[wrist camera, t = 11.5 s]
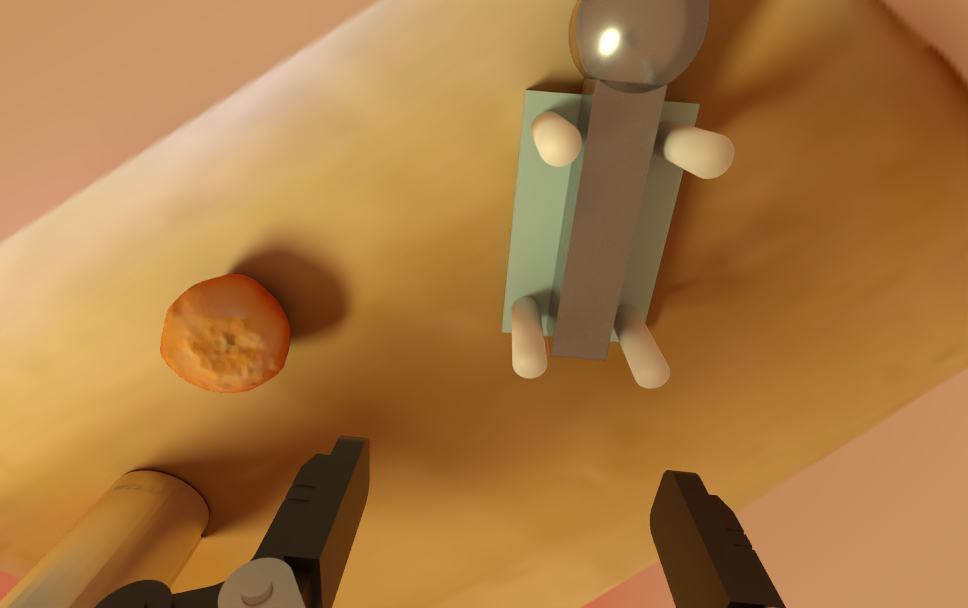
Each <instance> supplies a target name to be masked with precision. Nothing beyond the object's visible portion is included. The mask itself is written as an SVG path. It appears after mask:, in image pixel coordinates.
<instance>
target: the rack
mask: <svg viewBox="0 0 968 608" xmlns="http://www.w3.org/2000/svg"><path fill="white" fill-rule="evenodd" d="M581 97H582V94H573V93H561V92H548V91H536V90H525V100H524V110H523V120H522V130H521V140H520V150H519V159H518V169H517V179H516V189H515V199H514V209H513V219H512V229H511V239H510V249H509V259H508V269H507V279H506V289H505V299H504V309H503V319H502V332H504V333H512V364H513V369H514V371H515V372H516V373H517V374H518V375H519V376H521V377H524V378H536V377H539V376H540V375H542V374H543V373H544V372H545V371H546V369H547V365H548V362H547V355H546V348H545V341H544V336H548V334H547V328H546V324H547V318H548V311H549V305H550V298H551V292H552V285H553V279H554V272H555V266H556V259H557V253H558V246H559V240H560V233H561V227H562V220H563V214H564V207H565V201H566V194H567V188H568V181H569V175H570V168H571V163H572V162H573V161H574V160H575V159H576V158H577V156H578V155H579V153H580V150H581V146H582V139H581V135H580V133H579V131H578V129H577V123H578V116H579V110H580V104H581ZM699 107H700V104H695V103H686V102H673V101H664V103H663V108H662V112H661V116H660V121H659V125H658V130H657V134H656V139H655V143H654V148H653V152H652V156H651V161H650V165H649V170H648V174H647V179H646V183H645V187H644V192H643V196H642V201H641V205H640V210H639V214H638V219H637V223H636V227H635V232H634V236H633V241H632V245H631V250H630V254H629V259H628V263H627V267H626V272H625V276H624V281H623V285H622V290H621V294H620V299H619V303H618V307H617V312H616V316H615V321H614V325H613V330H612V334H611V339H610V341H611V342H619V343H620V345H621V347H622V350H623V352H624V354H625V357H626V359H627V362H628V364H629V366H630V369H631V371H632V373H633V376H634V378H635V380H636V382H637V384H638V385H640V386H641V387H643V388H647V389H653V388H658V387H660V386H662V385H663V384H665V383H666V382H667V381H668V379H669V377H670V368H669V366H668V364H667V362H666V360H665V359H664V357H663V355H662V353H661V351H660V350H659V348H658V346H657V344H656V342H655V341H654V339H653V337H652V335H651V333H650V332H649V330H648V328H647V326H646V325H645V322H646V318H647V314H648V310H649V306H650V302H651V298H652V294H653V290H654V286H655V282H656V278H657V274H658V270H659V266H660V262H661V258H662V254H663V250H664V246H665V242H666V238H667V234H668V230H669V226H670V222H671V218H672V214H673V211H674V207H675V203H676V199H677V195H678V191H679V187H680V183H681V179H682V175H683V171H684V169H685V170H687V171H688V172H690V173H692V174H694V175H696V176H698V177H700V178H703V179H712V178H716V177H718V176H720V175H722V174H723V173H724V172H726V171H727V170H728V168H729V167H730V166H731V164H732V162H733V159H734V155H735V149H734V145H733V143H732V141H731V140H730V139H729V138H728V137H726V136H724V135H722V134H718V133H714V132H711V131H707V130H703V129H699V128H696V127H695V123H696V119H697V115H698V111H699Z"/></svg>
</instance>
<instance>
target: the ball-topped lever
mask: <svg viewBox="0 0 968 608" xmlns="http://www.w3.org/2000/svg"><path fill="white" fill-rule="evenodd" d="M709 16H710V0H578V1H577V3H576V5H575V7H574V9H573V12H572V16H571V20H570V25H569V47H570V52H571V55H572V58H573V61H574V63H575V65H576V67H577V69H578V70H579V72H580V73H581V74H582V75H583V77H584V78H586V79H584V84H583V91H582V97H581V104H580V110H579V116H578V123H577V129H578V131H579V133H580V135H581V139H582V146H581V150H580V153H579V155H578V156H577V158H576V159H575V160H574V161H573V162H572V163H571V168H570V175H569V181H568V188H567V194H566V201H565V207H564V214H563V220H562V227H561V233H560V240H559V246H558V253H557V259H556V266H555V272H554V279H553V285H552V292H551V298H550V305H549V311H548V318H547V324H546V328H547V334H548V340H549V347H550V353H551V356H560V357H571V358H582V359H593V360H604V361H606V356H607V352H608V347H609V343H610V339H611V334H612V330H613V325H614V321H615V316H616V312H617V307H618V303H619V299H620V294H621V290H622V285H623V281H624V276H625V272H626V267H627V263H628V259H629V254H630V250H631V245H632V241H633V236H634V232H635V227H636V223H637V219H638V214H639V210H640V205H641V201H642V196H643V192H644V187H645V183H646V179H647V174H648V170H649V165H650V161H651V156H652V152H653V148H654V143H655V139H656V134H657V130H658V125H659V121H660V116H661V112H662V108H663V103H664V99H665V94H666V90H667V84H668V83H670V82H672V81H673V80H674V79H676V78H677V77H678V76H679V75H680V74H681V73H683V72H684V71H685V69H686V68H687V67H688V66H689V65H690V64H691V62H692V61H693V59H694V58H695V57H696V55H697V53H698V51H699V50H700V48H701V45H702V43H703V41H704V38H705V35H706V32H707V28H708V23H709Z"/></svg>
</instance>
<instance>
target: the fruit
mask: <svg viewBox="0 0 968 608" xmlns="http://www.w3.org/2000/svg"><path fill="white" fill-rule="evenodd" d="M290 337H291V330H290V325H289V322H288V318H287V316H286V314H285V312H284V310H283V308H282V307H281V305H280V304H279V303H278V301H277V300H276V299H275V297H274V296H272V295H271V294H270V293H269V292H268V291H267V290H266V289H265V288H264V287H263V286H262V285H261V284H260V283H259V282H257V281H256V280H255V279H252V278H250V277H248V276H246V275H241V274H229V275H225V276H221V277H217V278H213V279H209V280H206V281H202V282H200V283H198V284H196V285H194V286H192V287H191V288H189V289H188V290H187V291H186V292H184V293H183V294H182V295H181V296H180V297H179V298H178V299H177V300H176V301H175V302H174V303H173V304H172V305H171V306H170V308H169V309H168V312H167V314H166V318H165V321H164V328H163V332H162V338H161V347H160V351H161V355H162V357H163V358H164V360H165V361H166V363H167V364H168V366H169V367H170V368H172V369H173V370H174V371H175V372H176V373H177V374H178V375H179V376H180V377H182V378H184V379H185V380H186V381H187V382H189V383H191V384H193V385H195V386H198V387H200V388H203V389H204V390H209V391H213V392H219V393H237V392H244V391H248V390H251V389H253V388H255V387H256V386H259V385H261V384H263V383H264V382H266V381H268V380H269V379H271V378H273V377H274V376H275V375H277V374H278V372H279V371H280V370H282V368H283V367H284V364H285V360H286V357H287V355H288V351H289V346H290Z"/></svg>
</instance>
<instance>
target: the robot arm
mask: <svg viewBox="0 0 968 608" xmlns="http://www.w3.org/2000/svg"><path fill="white" fill-rule="evenodd" d="M368 490H369V439H367V438H357V437H347V436H340V437H339V438H338V440H337V442H336V444H335V447H334V449H333V451H332V453H331V455H323V454H316V455H315V456H314V457H313V458H311V459H310V460H309V461H308V462H307V463H306V464H305V465H303V466H302V467H301V469H300V471H299V472H298V474H297V476H296V478H295V480H294V482H293V484H292V488H290V489H289V491H288V493H287V495H286V497H285V501H284V502H283V503H282V505H281V506H280V508H279V510H278V512H277V514H276V516H275V518H274V520H273V522H272V524H271V525H270V527H269V529H268V531H267V533H266V535H265V537H264V539H263V541H262V542H261V544H260V546H259V548H258V550H257V552H256V554H255V555H254V557H253V559H252V560H251V561H250V562H248V563H246V564H244V565H243V566H241V567H240V568H238V569H237V570H236V571H234V572H233V573H232V574H231V575H230V576H229V577H228V578H227V580H226V581H224V582H222V583H219V584H217V585H213V586H210V587H206V588H201V589H196V590H191V591H186V592H182V593H177V594H172V593H171V591H170V587H171V586H172V584H173V583H174V581H175V580H176V578H177V577H178V575H179V573H180V572H181V570H182V569H183V567H184V566H185V564H186V563H187V561H188V560H189V558H190V557H191V555H192V554H193V552H194V551H195V549H196V548H197V546H198V545H199V543H200V542H201V540H202V539H201V534H202V532H203V531H204V529H205V528H206V526H207V524H208V522H209V511H208V507H207V505H206V503H205V501H204V499H203V498H202V497H201V496H200V495H199V493H198V492H197V491H195V490H194V489H193V488H192V487H191V486H189V485H188V484H186V483H185V482H183V481H182V480H180V479H177V478H175V477H173V476H171V475H167V474H164V473H161V472H155V471H135V472H130V473H128V474H125V475H123V476H122V477H121V478H119V479H118V480H117V481H116V482H115V483H114V484H113V485H112V486H111V487H110V488H109V489H108V490H107V491H106V492H105V493H104V494H103V496H102V497H101V498H100V499H99V500H98V501H97V502H96V503H95V504H94V505H93V506H92V507H91V508H90V509H89V510H88V511H87V512H86V513H85V514H84V515H83V516H82V517H81V518H80V519H79V520H78V521H77V522H76V523H75V524H74V525H73V526H72V527H71V528H70V529H69V531H68V532H67V533H66V534H65V535H64V536H63V537H62V538H61V539H60V540H59V541H58V542H57V543H56V544H55V545H54V546H53V547H52V548H51V549H50V550H49V551H48V552H47V553H46V554H45V555H44V557H43V558H42V559H41V560H40V561H39V562H38V563H37V564H36V565H35V566H34V567H33V568H32V569H31V570H30V571H29V572H28V573H27V574H26V575H25V576H24V577H23V578H22V579H21V580H20V581H19V583H18V584H17V585H16V586H15V587H14V588H13V589H12V590H11V591H10V592H9V593H8V594H7V595H6V596H5V597H4V598H3V599H2V600H1V601H0V608H332V606H333V602H334V599H335V596H336V593H337V590H338V587H339V584H340V581H341V578H342V575H343V572H344V569H345V566H346V563H347V560H348V557H349V553H350V550H351V547H352V544H353V541H354V538H355V535H356V532H357V529H358V526H359V523H360V520H361V517H362V514H363V511H364V508H365V504H366V500H367V496H368ZM650 529H651V534H652V537H653V540H654V543H655V546H656V549H657V552H658V555H659V558H660V561H661V564H662V567H663V570H664V573H665V575H666V579H667V582H668V585H669V588H670V591H671V594H672V597H673V599H674V603H675V605H676V608H786V607H785V605H784V603H783V602H782V600H781V598H780V596H779V594H778V592H777V591H776V589H775V587H774V585H773V583H772V581H771V580H770V578H769V576H768V574H767V572H766V571H765V569H764V567H763V565H762V563H761V561H760V560H759V558H758V556H757V554H756V552H755V551H754V550H752V545H751V543H750V541H749V540H748V538H747V536H746V535H744V531H743V529H742V527H741V525H740V523H739V521H738V519H737V518H736V516H735V514H734V512H733V511H732V510H731V509H730V508H729V507H728V506H727V505H726V504H725V503H724V502H723V501H722V500H721V499H720V498H719V497H718V496H717V495H709V494H708V492H707V490H706V488H705V486H704V484H703V482H702V480H701V479H700V477H699V476H698V474H696V473H691V472H682V471H672V470H667V471H665V473H664V474H663V477H662V480H661V483H660V485H659V488H658V491H657V494H656V497H655V500H654V503H653V506H652V509H651V513H650Z"/></svg>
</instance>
